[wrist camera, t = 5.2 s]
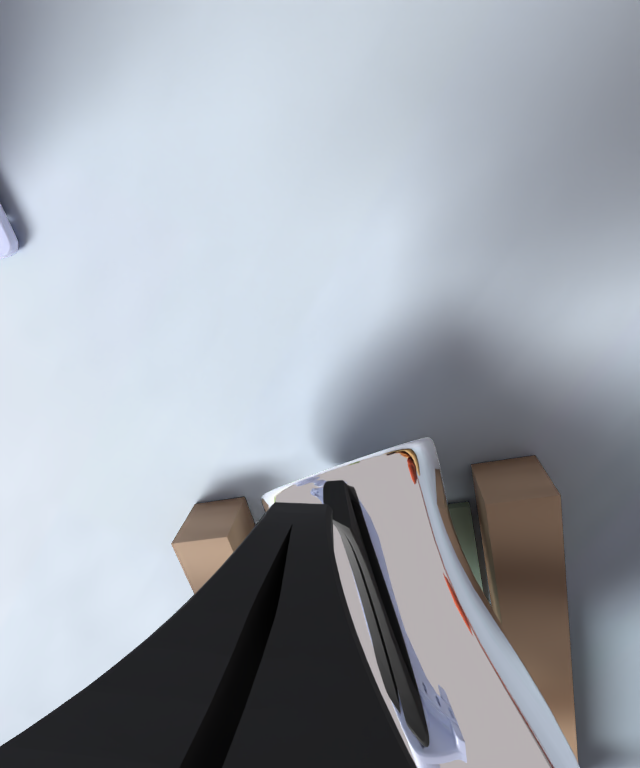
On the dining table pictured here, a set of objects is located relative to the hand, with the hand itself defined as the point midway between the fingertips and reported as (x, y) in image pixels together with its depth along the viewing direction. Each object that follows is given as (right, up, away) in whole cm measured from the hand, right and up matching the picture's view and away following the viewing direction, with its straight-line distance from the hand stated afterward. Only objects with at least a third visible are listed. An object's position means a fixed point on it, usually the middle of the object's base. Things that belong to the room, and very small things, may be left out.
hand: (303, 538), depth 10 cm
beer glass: (+1, +1, +5) cm, 5 cm away
